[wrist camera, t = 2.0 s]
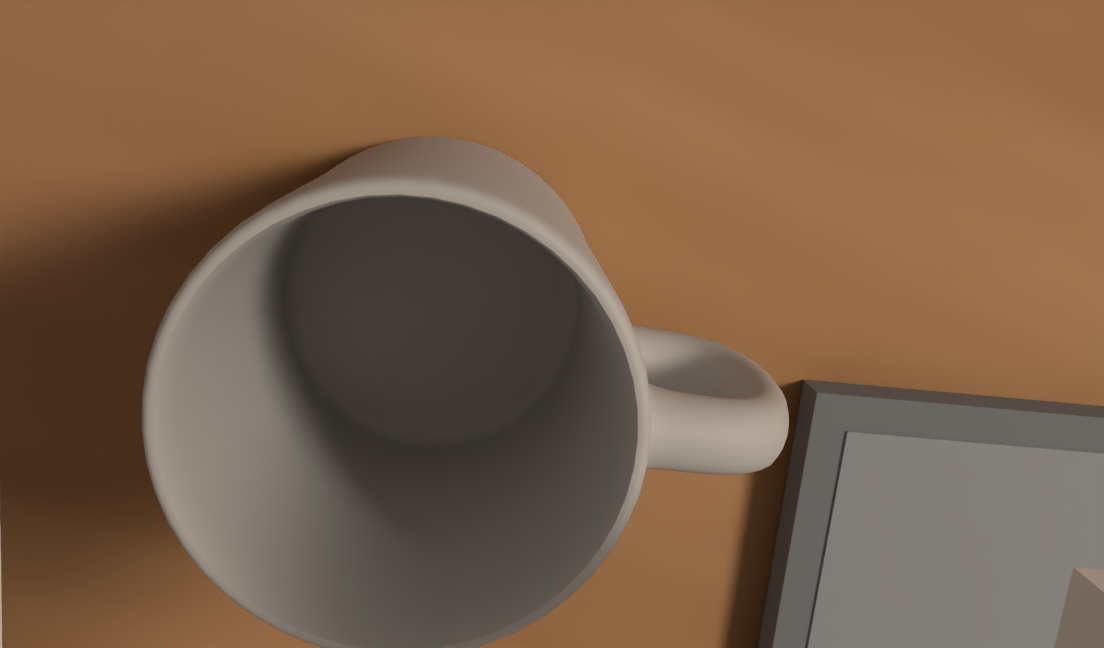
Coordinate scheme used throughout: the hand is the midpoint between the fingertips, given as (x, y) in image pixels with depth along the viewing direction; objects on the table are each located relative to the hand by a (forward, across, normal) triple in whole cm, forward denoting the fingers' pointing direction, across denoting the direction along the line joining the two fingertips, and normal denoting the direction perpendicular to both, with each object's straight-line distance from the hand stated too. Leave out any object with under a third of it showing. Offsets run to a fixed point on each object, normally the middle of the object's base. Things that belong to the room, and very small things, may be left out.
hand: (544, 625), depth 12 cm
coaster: (+16, +14, -8) cm, 23 cm away
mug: (+16, -1, +1) cm, 16 cm away
